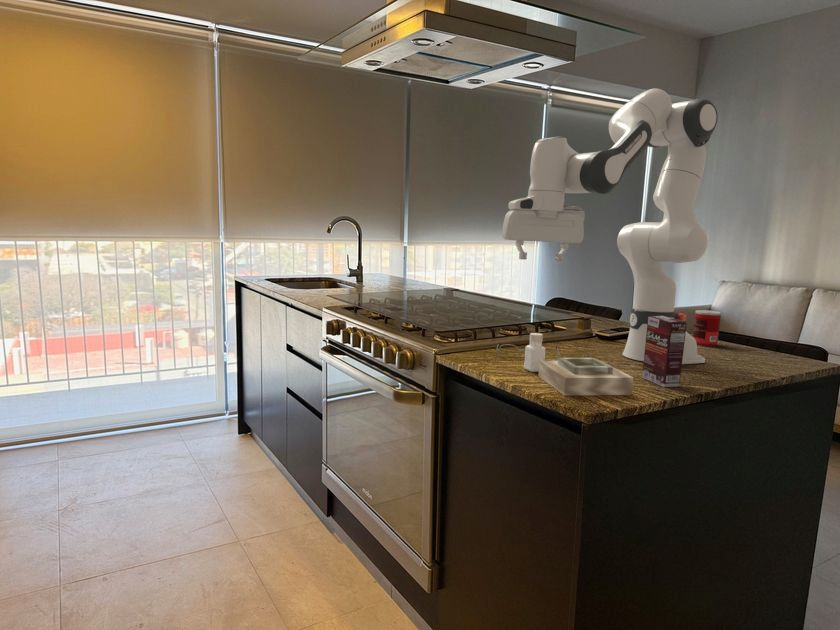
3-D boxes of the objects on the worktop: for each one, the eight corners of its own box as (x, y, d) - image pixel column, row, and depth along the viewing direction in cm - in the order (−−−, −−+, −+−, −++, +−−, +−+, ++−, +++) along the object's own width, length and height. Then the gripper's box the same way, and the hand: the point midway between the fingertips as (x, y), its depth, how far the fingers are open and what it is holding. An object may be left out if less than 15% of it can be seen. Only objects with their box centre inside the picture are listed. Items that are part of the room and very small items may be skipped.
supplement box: (640, 378, 145) (646, 315, 143) (657, 377, 147) (663, 315, 144) (663, 387, 137) (670, 321, 135) (680, 387, 139) (688, 321, 136)
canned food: (718, 343, 195) (722, 311, 193) (715, 347, 188) (719, 314, 187) (693, 340, 199) (697, 309, 197) (690, 344, 193) (693, 311, 191)
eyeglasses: (495, 357, 164) (495, 343, 163) (498, 346, 182) (498, 333, 182) (560, 362, 161) (561, 348, 160) (556, 350, 179) (557, 337, 179)
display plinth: (599, 376, 146) (601, 354, 145) (631, 394, 130) (634, 371, 129) (538, 376, 143) (539, 354, 142) (564, 395, 128) (566, 371, 127)
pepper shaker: (523, 368, 150) (525, 332, 149) (536, 368, 152) (539, 332, 150) (531, 372, 147) (533, 335, 145) (544, 371, 148) (547, 335, 147)
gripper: (580, 206, 148) (575, 261, 150) (502, 202, 145) (498, 257, 147) (590, 206, 142) (585, 262, 144) (509, 201, 139) (505, 259, 141)
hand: (540, 260), depth 145 cm, fingers open, 8 cm apart
